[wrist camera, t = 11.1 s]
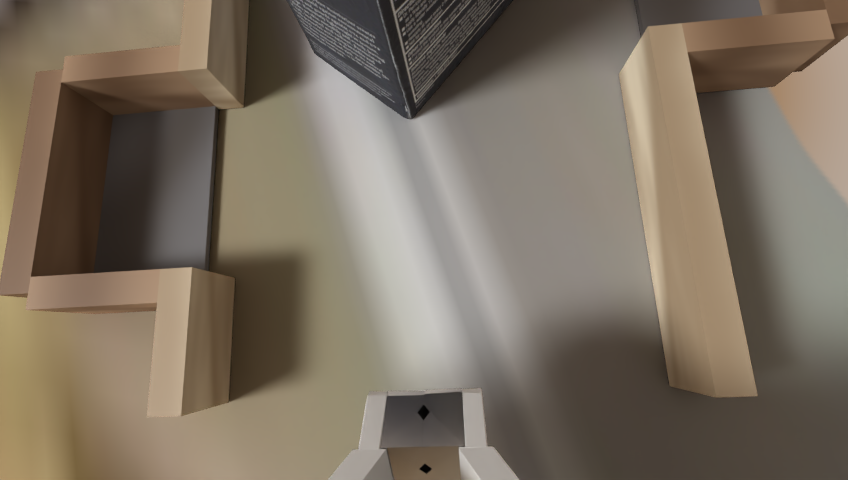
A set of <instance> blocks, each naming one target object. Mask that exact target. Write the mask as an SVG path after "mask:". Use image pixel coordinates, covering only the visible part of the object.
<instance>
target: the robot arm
mask: <svg viewBox="0 0 848 480" xmlns="http://www.w3.org/2000/svg"><path fill="white" fill-rule="evenodd" d="M462 399H463V400H462ZM328 480H519V478H518V477H517V476H516V475H515V473H514V472H513V471H512V469H511V468H510V467H509V466H508V464H507V463H506V462H505V460H504V459H503V458H502V457H501V455H500V454H499V453H498V451H497V450H496V449H495V448H494V446H488V443H487V433H486V423H485V413H484V403H483V394H482V389H481V388H467V389H462V388H454V389H433V390H425V391H370V392H369V394H368V396H367V401H366V406H365V412H364V418H363V424H362V430H361V436H360V442H359V448H358V449H354V450H352V451H351V452H350V453H349V455H348V456H347V457H346V458H345V459H344V461H343V462H342V463H341V464H340V466H339V467H338V468H337V469H336V470H335V472H334V473H333V474H332V475H331V476H330V478H329V479H328Z"/></svg>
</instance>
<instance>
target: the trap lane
mask: <svg viewBox="0 0 848 480" xmlns="http://www.w3.org/2000/svg"><path fill="white" fill-rule="evenodd" d="M634 1H635V6H636V12H637V17H638V23H639V29H640V34H641V39H640V40H639V42H638V44H637V45H636V47H635V49H634V50H633V52H632V54H631V55H630V57H629V59H628V60H627V62H626V63H625V65H624V67H623V68H622V70H621V72H620V73H619V78H620V84H621V90H622V96H623V103H624V109H625V115H626V121H627V127H628V133H629V139H630V146H631V152H632V158H633V164H634V170H635V176H636V182H637V189H638V195H639V201H640V207H641V213H642V219H643V226H644V232H645V238H646V244H647V250H648V256H649V262H650V269H651V275H652V281H653V287H654V293H655V299H656V306H657V312H658V318H659V324H660V330H661V336H662V342H663V349H664V355H665V361H666V367H667V373H668V379H669V385H670V386H671V387H675V388H679V389H683V390H687V391H691V392H695V393H699V394H704V395H708V396H712V397H716V398H720V397H749V396H758V394H757V389H756V385H755V380H754V375H753V370H752V365H751V360H750V355H749V350H748V345H747V341H746V336H745V331H744V326H743V321H742V316H741V311H740V306H739V301H738V297H737V292H736V287H735V282H734V277H733V272H732V267H731V262H730V257H729V253H728V248H727V243H726V238H725V233H724V228H723V223H722V218H721V213H720V209H719V204H718V199H717V194H716V189H715V184H714V179H713V174H712V169H711V164H710V160H709V155H708V150H707V145H706V140H705V135H704V130H703V125H702V120H701V116H700V111H699V106H698V101H697V96H696V93H702V92H714V91H726V90H738V89H750V88H762V87H773V86H776V85H777V84H778V83H779V82H781V81H782V80H783V79H784V78H786V77H787V76H788V75H790V74H791V73H792V72H797V71H802V70H803V69H805V68H806V67H807V66H809V65H810V64H811V63H812V62H814V61H815V60H816V59H817V58H819V57H820V56H821V55H823V54H824V53H825V52H827V51H828V50H829V49H830V48H832V47H833V46H834V45H836V44H837V43H838V42H840V41H841V40H842V39H843V38H845V37H846V36H847V35H848V0H634ZM248 15H249V0H184V9H183V20H182V31H181V43H180V45H175V46H165V47H155V48H145V49H135V50H125V51H115V52H105V53H95V54H85V55H75V56H65V61H64V67H63V69H61V70H51V71H40V72H36V75H35V81H34V87H33V92H32V98H31V104H30V110H29V116H28V122H27V127H26V133H25V139H24V145H23V151H22V156H21V162H20V168H19V174H18V180H17V186H16V191H15V197H14V203H13V209H12V215H11V221H10V226H9V232H8V238H7V244H6V250H5V256H4V261H3V267H2V273H1V279H0V295H3V296H15V297H26V298H27V304H26V310H36V311H53V312H71V313H88V314H101V313H120V312H139V311H156V320H155V331H154V342H153V353H152V364H151V375H150V386H149V397H148V408H147V417H170V416H183V415H187V414H190V413H194V412H197V411H200V410H204V409H207V408H211V407H214V406H218V405H221V404H225V403H228V402H229V385H230V365H231V346H232V326H233V307H234V287H235V278H233V277H229V276H225V275H221V274H217V273H213V272H209V271H208V270H209V255H210V240H211V224H212V209H213V194H214V178H215V163H216V148H217V132H218V117H219V109H230V108H241V107H244V93H245V73H246V54H247V34H248Z"/></svg>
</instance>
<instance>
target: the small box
mask: <svg viewBox="0 0 848 480" xmlns="http://www.w3.org/2000/svg"><path fill="white" fill-rule="evenodd" d="M512 1H513V0H287V2H288V3H289V5H290V7H291V9H292V11H293V13H294V15H295V17H296V18H297V20H298V22H299V24H300V26H301V28H302V29H303V31H304V33H305V35H306V37H307V39H308V41H309V43H310V45H311V47H312V49H313V51H314V53H315V54H316V55H317V56H319V57H320V58H322V59H323V60H324V61H325V62H327V63H328V64H330V65H331V66H332V67H334V68H335V69H336V70H338V71H339V72H341V73H342V74H343V75H345V76H346V77H348V78H349V79H350V80H352V81H353V82H355V83H356V84H357V85H359V86H360V87H362V88H363V89H365V90H366V91H367V92H369V93H370V94H372V95H373V96H375V97H376V98H377V99H379V100H380V101H382V102H383V103H384V104H386V105H387V106H389V107H390V108H391V109H393V110H394V111H396V112H397V113H399V114H400V115H401V116H403V117H405V118H407V119H411V118H413V117H414V116H415V114H416V113H417V112H418V111H419V110H420V108H421V107H422V106H423V105H424V104H425V103H426V101H427V100H428V99H429V98H430V97H431V96H432V95H433V94H434V93H435V91H436V90H437V89H438V88H439V87H440V85H441V84H442V83H443V82H444V81H445V79H446V78H447V77H448V76H449V75H450V74H451V72H452V71H453V70H454V69H455V68H456V67H457V66H458V65H459V64H460V62H461V60H462V59H463V58H464V57H465V56H466V55H467V54H468V52H469V51H470V50H471V49H472V48H473V47H474V45H475V44H476V43H477V42H478V40H479V39H480V38H481V37H482V36H483V35H484V34H485V32H486V31H487V30H488V29H489V28H490V26H491V25H492V24H493V23H494V22H495V21H496V19H497V18H498V17H499V16H500V15H501V13H502V12H503V11H504V10H505V9H506V8H507V6H508V5H509V4H510V3H511V2H512Z"/></svg>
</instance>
